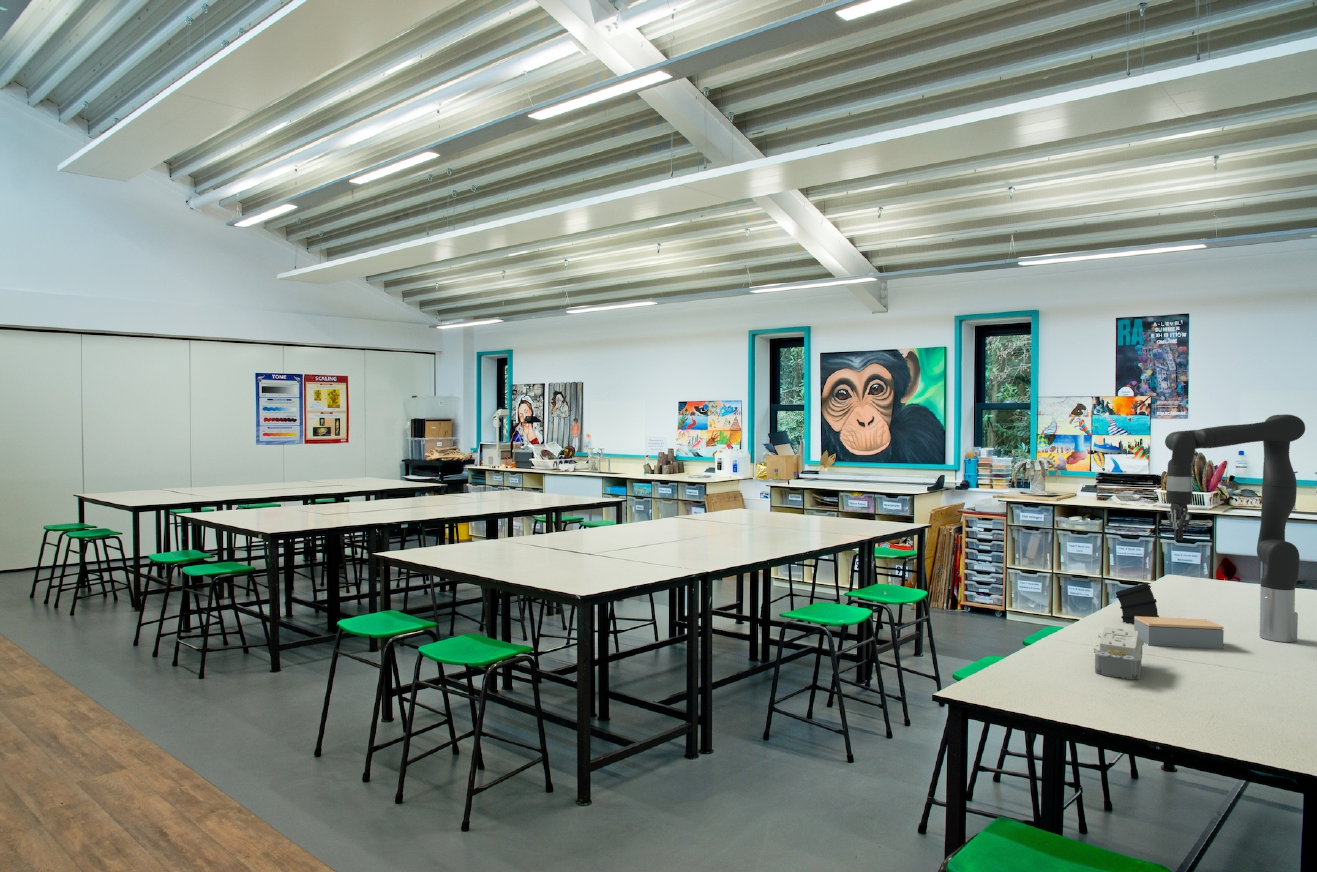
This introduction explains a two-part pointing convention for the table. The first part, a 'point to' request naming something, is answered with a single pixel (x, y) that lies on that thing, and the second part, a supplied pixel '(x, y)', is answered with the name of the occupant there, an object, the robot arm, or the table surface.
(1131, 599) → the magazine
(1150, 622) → the tan flat rectangular panel
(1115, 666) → the electrical outlet
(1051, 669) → the table surface
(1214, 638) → the grey rectangular box
